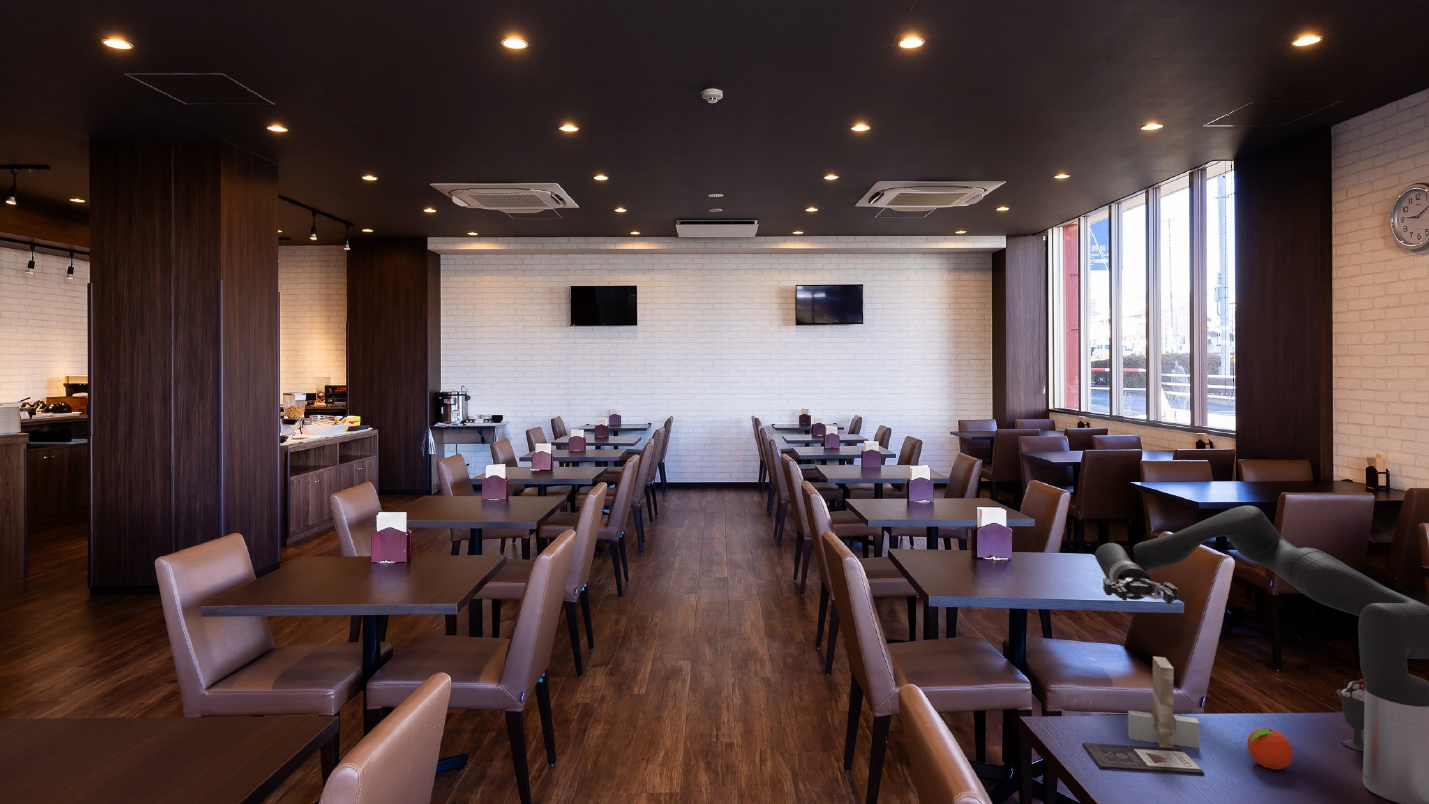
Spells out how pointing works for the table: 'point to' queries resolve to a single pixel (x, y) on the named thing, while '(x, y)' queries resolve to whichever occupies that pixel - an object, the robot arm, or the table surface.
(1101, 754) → the chocolate bar
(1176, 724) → the slotted rail
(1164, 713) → the tapered block
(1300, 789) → the table surface
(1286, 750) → the clementine
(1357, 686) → the sundae
